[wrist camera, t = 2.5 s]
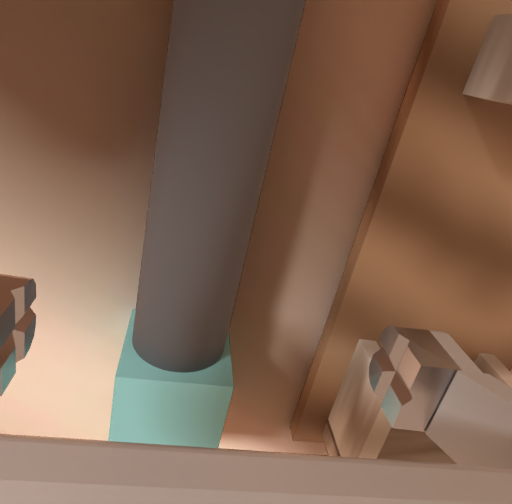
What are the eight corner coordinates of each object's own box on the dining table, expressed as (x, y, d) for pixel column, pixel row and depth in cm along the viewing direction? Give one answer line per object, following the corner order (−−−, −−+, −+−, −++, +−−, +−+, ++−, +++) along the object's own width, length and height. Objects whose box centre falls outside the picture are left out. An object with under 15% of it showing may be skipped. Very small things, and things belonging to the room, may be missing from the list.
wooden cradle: (503, -189, 15) (633, -289, 10) (755, -85, 17) (949, -130, 13) (289, 427, 27) (307, 502, 23) (454, 438, 29) (500, 508, 25)
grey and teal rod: (206, -310, 13) (208, -499, 8) (358, -247, 14) (432, -386, 9) (124, 382, 24) (106, 460, 20) (211, 390, 25) (213, 465, 21)
